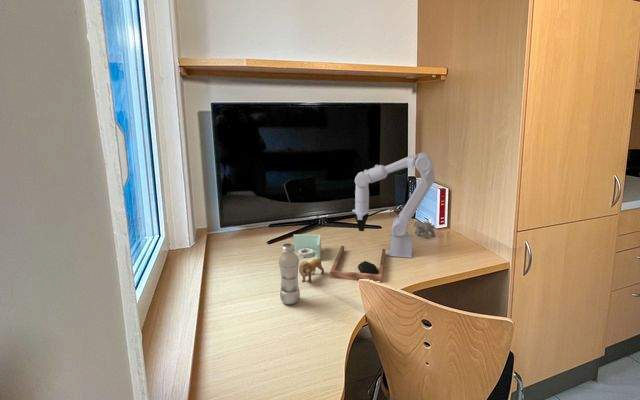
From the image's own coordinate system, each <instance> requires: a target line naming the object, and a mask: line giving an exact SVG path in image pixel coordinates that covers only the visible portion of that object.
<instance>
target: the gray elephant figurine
mask: <svg viewBox="0 0 640 400" xmlns="http://www.w3.org/2000/svg"><path fill="white" fill-rule="evenodd" d="M414 228H415V231H414V234H415V235H417V236H418V237H419V236H420V235H421V234H424V235H425V236H424V238H425V239H430V238H431V237H430V234H431V236H432V237H436V232H435V225H434V224H432V223H431V222H428V221H421V222H420V221H415V222H414Z"/></svg>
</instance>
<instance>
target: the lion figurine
mask: <svg viewBox="0 0 640 400" xmlns="http://www.w3.org/2000/svg"><path fill="white" fill-rule="evenodd" d="M316 268H318V269H319V271H321V272H320V274H321V275H324V274H325V271H324V267H323V266H322V261H321V258H320V259H317V258H314V259H312V260H310V262H308V261H302V262H299V266H298V273H299V274H300V276H301V277H302V279H301V282H302V283H304V282H306V277H308V283H309V284H312V276H314V275H315V273H316V271H317V270H316Z"/></svg>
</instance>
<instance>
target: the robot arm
mask: <svg viewBox="0 0 640 400" xmlns="http://www.w3.org/2000/svg"><path fill="white" fill-rule="evenodd" d="M406 168H407V169H411V170H414V169H415V168H416V170H417V171H418V173H419V176H420V178H421V179H420V180H419V182H418V184H417V185H416V187H415V189H414V191H413V192H412V193H411V195H410V197H409V199H408V200H407V202H406V203H405V205H404V207H403V209H402V210H401V211H400V212H399V214H398V215H397V216H395V217H394V218H393V219H392V222H391V223H392V226H391V231H390V247H389V248H388V257H396V258H406V259H407V258H409V259H410V258H413V252H414V247H413V245H414V244H413V242H414V241H413V240H414V239H413V238H414V237H413V236H414V235H413V234H410V233H409V232H408V227H409V225H410V223H411V220H412V218H413V216H414V215H415V213H416V212H417V210H418V208H419V207H420V205H421V204H422V201H423V200H424V198H425V197H426V195H427V194H428V192H429V191H430V189H431V187H432V185H433V184H434V182H435V165H434V163H433V161H432V159H431V156H430V155H429V154H428V153H427V152H418V153H417V154H412V155H409V156H406V157H404V158H402V159H399V160H398V161H394V162H393V163H390V164H387V165H383V164H375V165H374V166H373V167H372V168H369V169H364V170H363V171H360V172H358V173H357V174H356V176H355V178H354V183H355V190H354V195H355V198H354V203H355V204H354V208H353V209H352V210H351V211H352V213H355V215H354V218H355V220H356V223H357V228H358V229H357V230H358V231H359V232H365V229H366V223H367V220H368V219H369V215H370V209H369V208H370V207H369V205H370V189H369V184H373V183H376V182H378V181H381V180H384V179H386V178H387V176H388V174H391V173H394V172H398V171H400V170H403V169H406Z"/></svg>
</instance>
